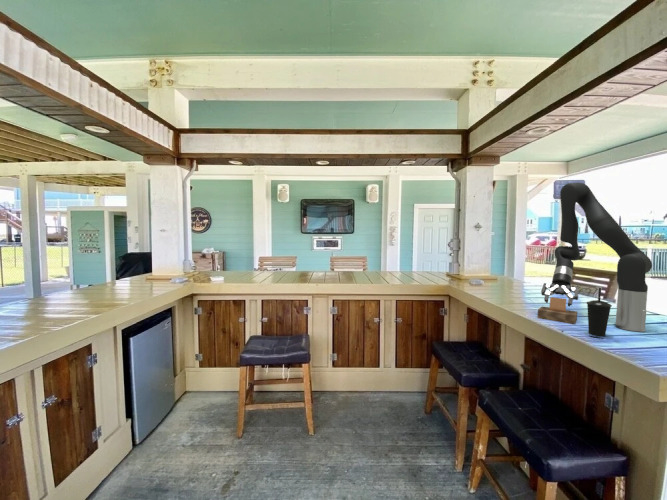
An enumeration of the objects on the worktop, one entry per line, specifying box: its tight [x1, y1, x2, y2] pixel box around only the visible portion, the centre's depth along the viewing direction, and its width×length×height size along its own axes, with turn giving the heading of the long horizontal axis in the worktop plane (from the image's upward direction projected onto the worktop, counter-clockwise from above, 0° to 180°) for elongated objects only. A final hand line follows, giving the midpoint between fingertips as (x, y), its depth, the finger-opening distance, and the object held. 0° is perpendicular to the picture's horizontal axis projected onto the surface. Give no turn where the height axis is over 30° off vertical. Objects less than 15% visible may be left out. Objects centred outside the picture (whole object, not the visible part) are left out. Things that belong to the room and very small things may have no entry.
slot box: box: [537, 305, 578, 325], centre depth 144 cm, size 14×10×5 cm
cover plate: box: [549, 296, 567, 312], centre depth 144 cm, size 6×2×10 cm, turn 47°
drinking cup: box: [586, 287, 613, 340], centre depth 122 cm, size 8×8×20 cm
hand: (557, 303), depth 143 cm, fingers open, 8 cm apart
